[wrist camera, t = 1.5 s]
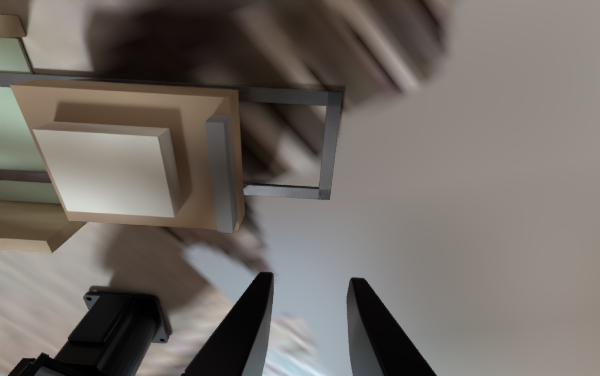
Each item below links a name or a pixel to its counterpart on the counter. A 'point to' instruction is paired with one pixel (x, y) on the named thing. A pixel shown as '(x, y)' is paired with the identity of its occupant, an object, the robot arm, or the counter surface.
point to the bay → (24, 165)
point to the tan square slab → (139, 151)
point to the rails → (244, 94)
